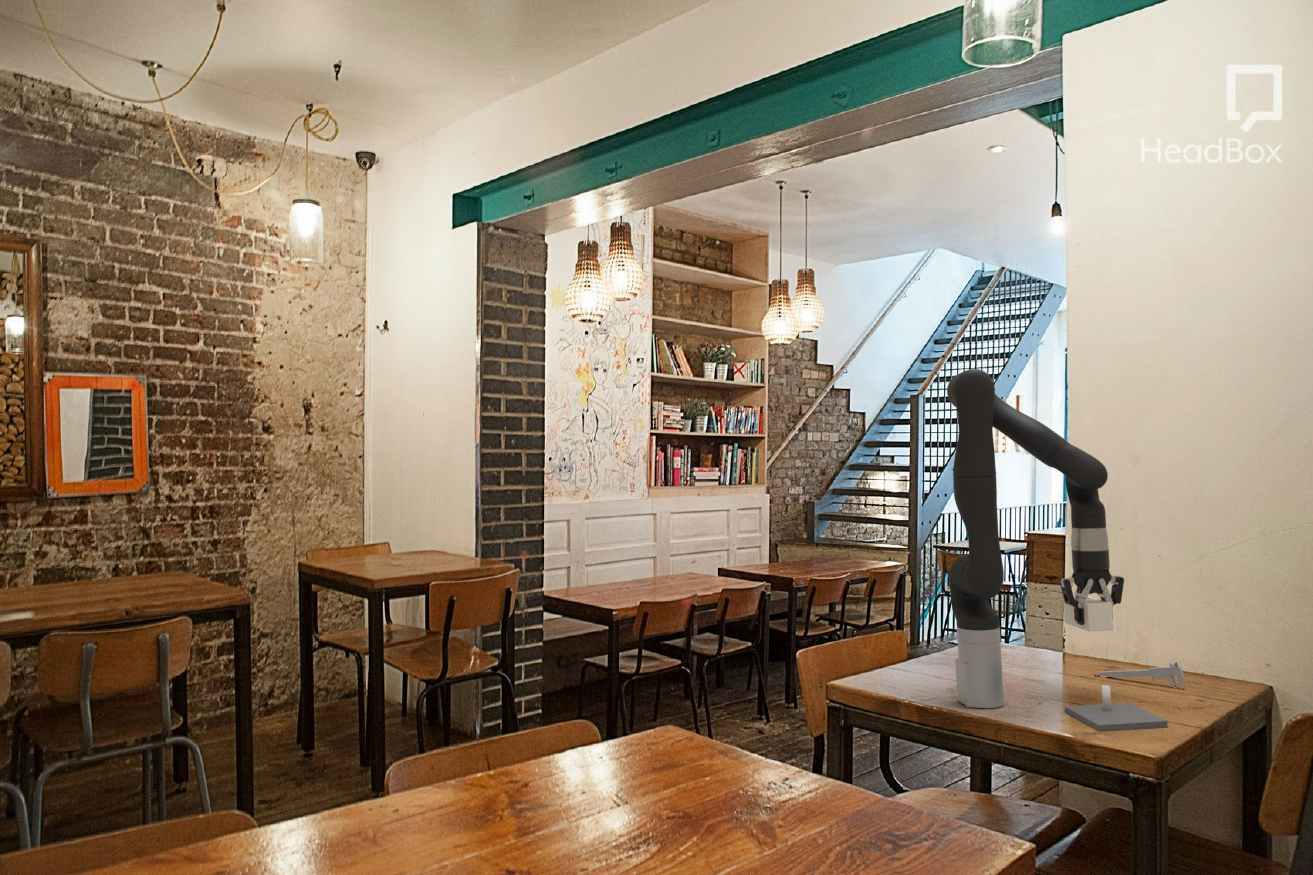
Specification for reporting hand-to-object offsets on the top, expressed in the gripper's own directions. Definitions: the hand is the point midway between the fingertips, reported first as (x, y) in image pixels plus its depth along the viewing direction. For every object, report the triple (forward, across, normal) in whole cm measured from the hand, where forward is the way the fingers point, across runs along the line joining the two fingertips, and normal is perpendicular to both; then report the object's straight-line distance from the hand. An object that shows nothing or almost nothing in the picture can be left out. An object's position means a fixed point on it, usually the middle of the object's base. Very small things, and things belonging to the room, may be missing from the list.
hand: (1093, 623), depth 202 cm
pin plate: (+17, -4, -13) cm, 22 cm away
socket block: (+1, 0, +2) cm, 3 cm away
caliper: (+18, +17, +14) cm, 28 cm away
